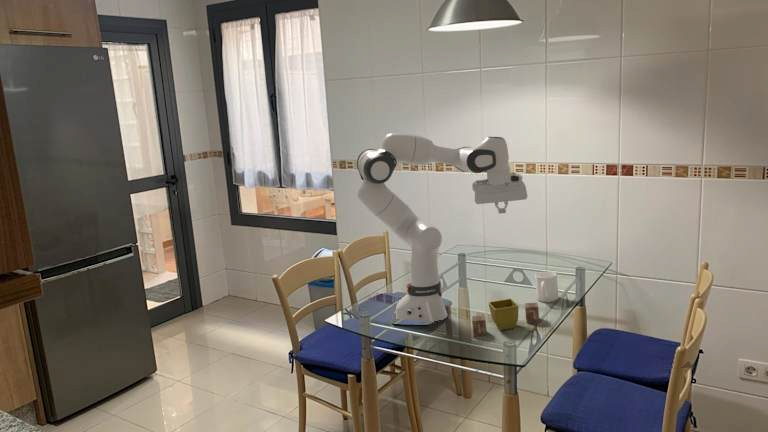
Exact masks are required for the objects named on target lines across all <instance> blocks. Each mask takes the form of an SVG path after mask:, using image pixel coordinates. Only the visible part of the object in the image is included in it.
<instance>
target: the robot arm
mask: <svg viewBox="0 0 768 432" xmlns="http://www.w3.org/2000/svg"><path fill="white" fill-rule="evenodd" d="M509 156H510V155H509V149H508V143H507V140H506V139H505V138H504V137H501V136H487V137H485V138H484V140H483V141H481V142H480V143H479V144H477V145H475V146H473V147H471V146H461V147H459V148H449V147H444V146H438V145H435V144H434V143H433V141H432V140H431V139H430V138H427V137H424V136H421V135H417V134H410V133H401V132H400V133H399V132H398V133H397V132H395V133H388V134H386V135H385V136H384V137H383V139H382V142H381V146H380V147H379V148H378V149H374V148H368V149H365V150H363V151H362V152H361V153H359V155H358V157H357V161H356V166H357V167H356V168H357V170H358V173H359V176H360V180H362V181H363V182H362V183H361V184H360V186H359V188H358V190H357V197H358V199H359V200H360V202H361V203H362V204H363V206H364V207H366V209H367V210H368V211H369V212H371V214H372V215H374V216H375V217H376V218H377V219H378V220H379V221H380V222H381V223H383V224H384V225H385V226H386V227H388V228H389V229H390V231H392V232H393V233H394V234H395V235H396V236H397V237H398V238H399V239H400V240H401V241H402V242H403V243H404V244H405V245H407V246H408V247H410V249H411V258H410V262H409V265H408V268H409V274H410V281H408V282H407V284H406V291H407V293H406V294H405V295H404V296H403V297H402V298H401V299H400V300H399V301H398V302H397V304H396V308H395V313H396V319H403V320H406V319H410V320H412V319H413V320H420V321H422V322H424V321H426V323H424V324H429V323H432V322H434V321H438V320H441V321H444V320H445V319H446V318H448V313H447V310H446V307H445V303H444V300H443V288H442V287H443V286H442V283H441V282H442V281H441V280H440V274H439V266H438V265H439V262H438V259H439V257H438V256H439V248H440V247H441V245H442V242H443V238H442V236H443V235H442V234H441V231H440V230H439V229H438V228H437V227H436V226H435V225H433V224H432V223H429V222H426V221H424V220H423V219H421V218H420V217H419V216H417V215H416V213H415V212H414V211H413V210H412V209H411V208H410V207H409V205H408V203H407V204H406V202H404V200H402V199H401V198H400V197H399V196H398V195H397V194H396V193H394V192H393V191H392V190H391V189H390V188H388V187H387V185H386V182H387V181H389V179H390V178H391V177H392V175H393V173H394V170H395V169H396V166H397V164H405V165H412V166H427V165H428V164H432V163H439V164H443V165H450V166H452V167H454V168H455V169H457V170H458V171H461V172H463V173H471V174H481V173H484V172H486V179H485V178H484V179H480V180H479V179H477V180H475V181H474V182H473V183H472V191H473V192H474V203H475V204H476V205H484V204H493V203H494V206H495V208H496V209H497V212H498V214H507V210H506V209H507V208H508V205H509V202H515V201H525V200H527V199H528V197H529V196H528V192H527V186H526V184H525V182H524V181H523V175H522V174H520V173H516V172H511V168H510V166H509V160H510V157H509ZM499 203H504V206H503V207H500V206H499ZM438 322H439V321H438ZM422 324H423V323H422Z"/></svg>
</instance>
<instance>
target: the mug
mask: <svg viewBox="0 0 768 432" xmlns="http://www.w3.org/2000/svg"><path fill="white" fill-rule="evenodd" d="M534 280H535V281H534V282H535V291H536V298H537V299H536V300H538V302H541V303H553V301H554V302H556V301H558V299H559V289H558V275H557V273H556V272H555V271H554V272H553V271H541V272H537V273H535V274H534ZM555 300H556V301H555Z"/></svg>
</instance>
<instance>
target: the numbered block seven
mask: <svg viewBox="0 0 768 432" xmlns="http://www.w3.org/2000/svg"><path fill="white" fill-rule="evenodd" d="M524 311H525V312H524V313H525V321H526V323H527V324H535V323H540V312H539V304H538V302H525V303H524Z"/></svg>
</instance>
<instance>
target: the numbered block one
mask: <svg viewBox="0 0 768 432" xmlns="http://www.w3.org/2000/svg"><path fill="white" fill-rule="evenodd" d="M486 322H487V321H486V315H475V316H472V318H471V323H472V333H473V338H479V337H481V338H482V337H488V335H487V333H488V332H487V323H486Z"/></svg>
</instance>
